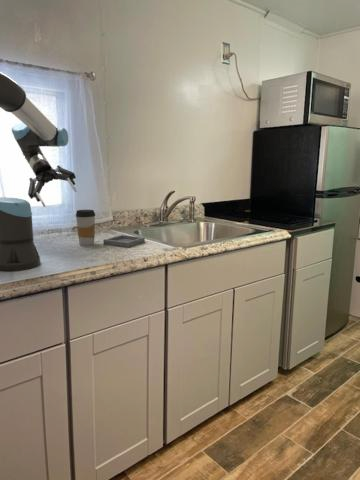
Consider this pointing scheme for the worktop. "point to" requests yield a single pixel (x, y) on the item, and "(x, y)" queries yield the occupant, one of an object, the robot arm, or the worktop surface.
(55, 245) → the worktop surface
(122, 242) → the dish
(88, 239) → the coffee cup
